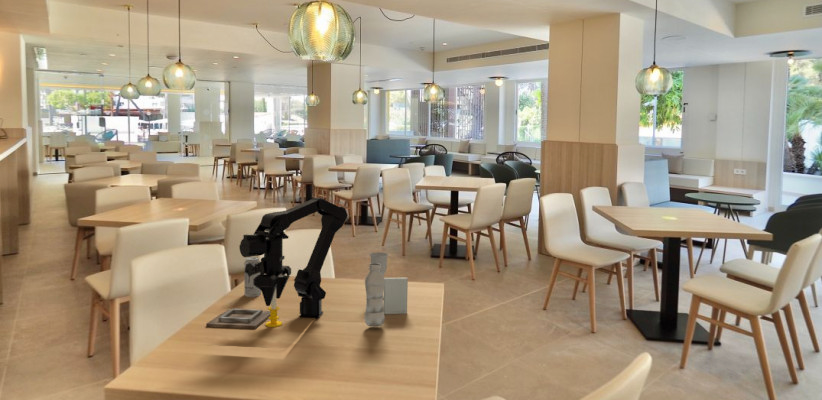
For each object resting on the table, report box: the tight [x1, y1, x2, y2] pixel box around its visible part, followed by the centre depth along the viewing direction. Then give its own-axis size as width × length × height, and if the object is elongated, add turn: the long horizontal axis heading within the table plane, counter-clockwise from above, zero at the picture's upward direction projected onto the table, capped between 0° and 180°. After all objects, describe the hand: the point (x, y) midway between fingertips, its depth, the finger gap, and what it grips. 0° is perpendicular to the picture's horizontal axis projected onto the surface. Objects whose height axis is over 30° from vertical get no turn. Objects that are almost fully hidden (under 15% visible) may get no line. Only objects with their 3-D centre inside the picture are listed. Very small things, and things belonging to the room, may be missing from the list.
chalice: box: [369, 252, 389, 301], centre depth 202 cm, size 7×7×18 cm
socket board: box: [205, 308, 270, 330], centre depth 177 cm, size 16×16×2 cm
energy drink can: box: [243, 256, 262, 298], centre depth 205 cm, size 6×6×15 cm
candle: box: [265, 290, 283, 328], centre depth 173 cm, size 5×5×16 cm
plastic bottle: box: [364, 262, 386, 328], centre depth 173 cm, size 6×7×20 cm
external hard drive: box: [383, 277, 409, 315], centre depth 188 cm, size 2×8×12 cm, turn 98°
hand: (273, 302), depth 173 cm, fingers open, 9 cm apart
